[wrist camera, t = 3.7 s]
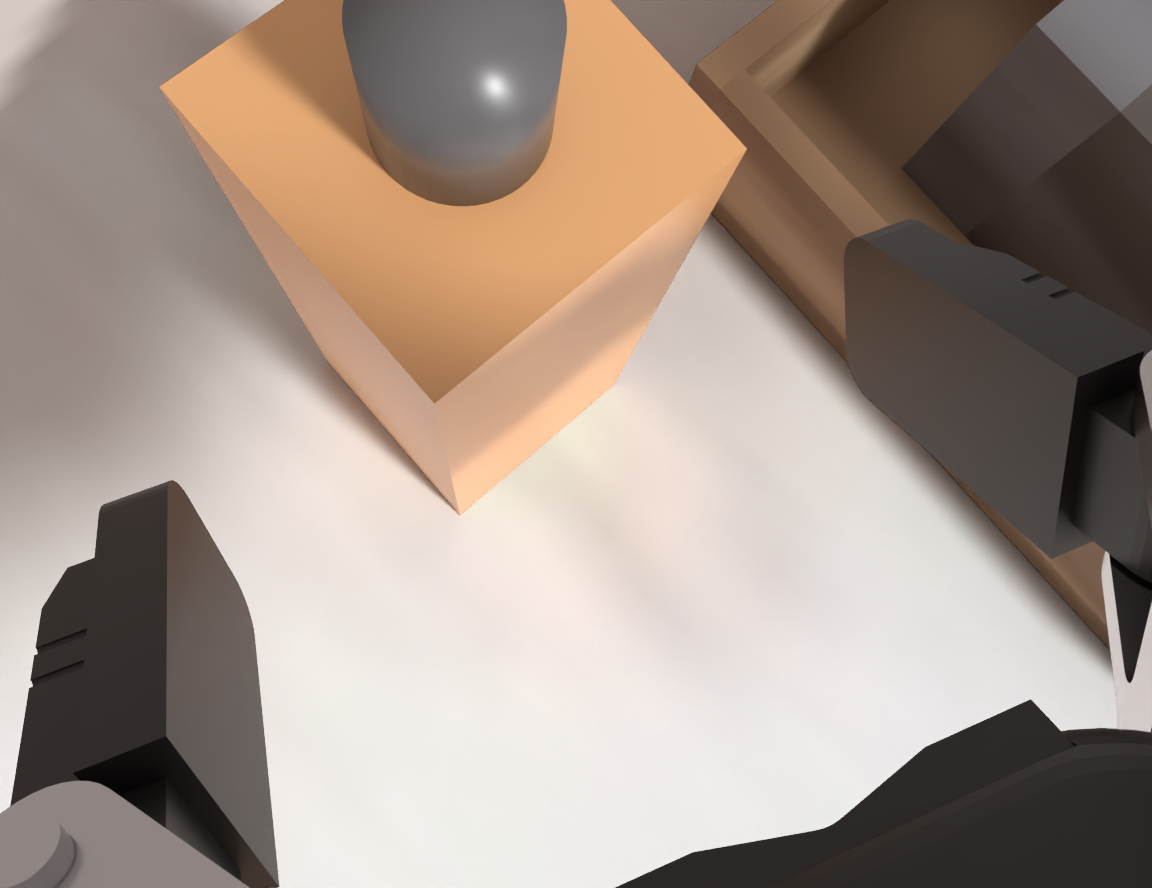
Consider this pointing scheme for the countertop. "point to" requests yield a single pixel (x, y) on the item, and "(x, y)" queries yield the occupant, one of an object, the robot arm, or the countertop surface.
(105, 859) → the robot arm
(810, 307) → the walled tray
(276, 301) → the countertop surface
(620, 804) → the countertop surface
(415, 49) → the plug
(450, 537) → the countertop surface
